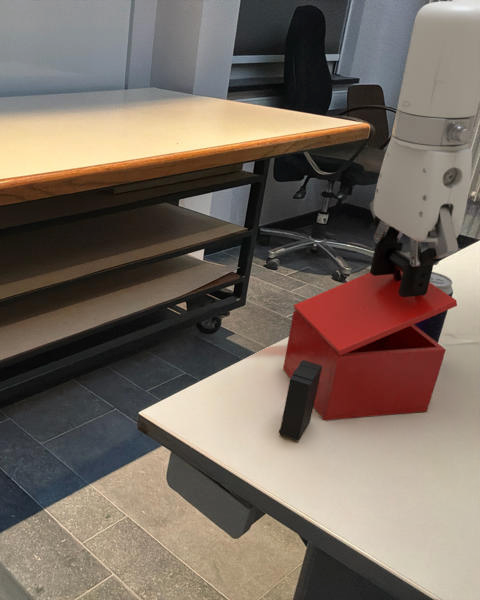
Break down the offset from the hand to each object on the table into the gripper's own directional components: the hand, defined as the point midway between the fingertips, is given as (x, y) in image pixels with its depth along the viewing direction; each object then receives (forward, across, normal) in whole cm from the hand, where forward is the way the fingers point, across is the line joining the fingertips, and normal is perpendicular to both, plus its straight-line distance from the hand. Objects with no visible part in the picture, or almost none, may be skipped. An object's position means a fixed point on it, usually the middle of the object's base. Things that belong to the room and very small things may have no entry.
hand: (397, 282), depth 79 cm
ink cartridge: (+14, -7, +14) cm, 21 cm away
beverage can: (+15, +6, -9) cm, 19 cm away
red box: (+15, 0, +3) cm, 15 cm away
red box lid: (+3, 0, +3) cm, 4 cm away
